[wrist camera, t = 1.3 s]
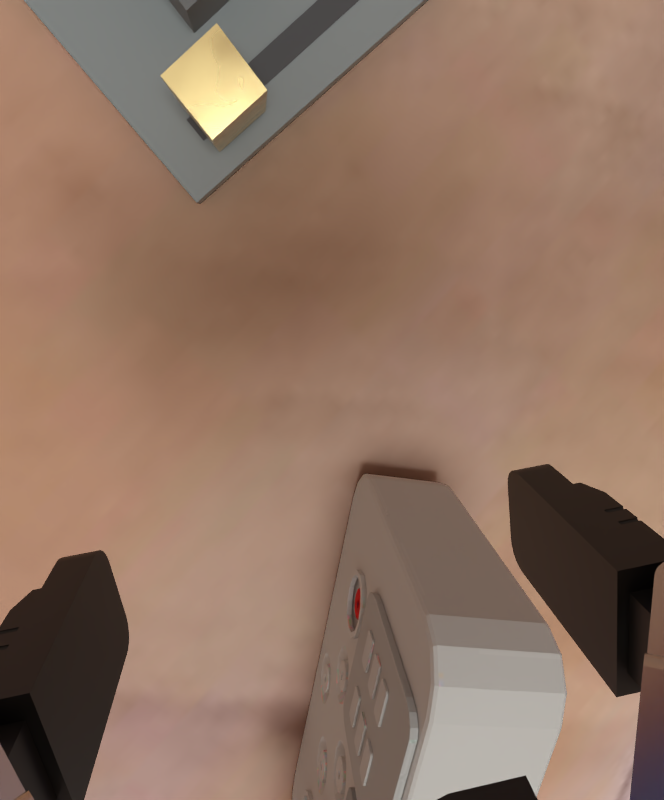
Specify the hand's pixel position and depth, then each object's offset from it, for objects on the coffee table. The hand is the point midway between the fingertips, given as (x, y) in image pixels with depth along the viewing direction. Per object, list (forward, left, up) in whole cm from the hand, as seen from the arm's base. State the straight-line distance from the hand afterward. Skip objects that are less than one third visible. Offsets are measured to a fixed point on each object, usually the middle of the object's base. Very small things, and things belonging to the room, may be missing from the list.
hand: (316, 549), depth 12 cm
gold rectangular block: (-5, -10, -22) cm, 25 cm away
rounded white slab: (+11, +21, -24) cm, 34 cm away
